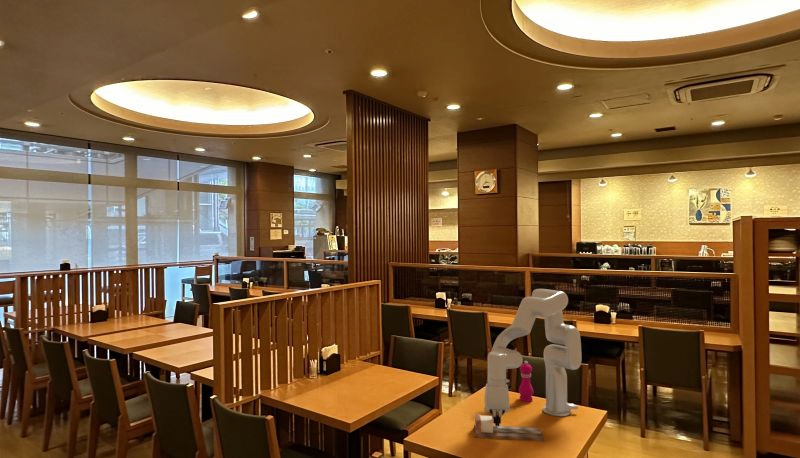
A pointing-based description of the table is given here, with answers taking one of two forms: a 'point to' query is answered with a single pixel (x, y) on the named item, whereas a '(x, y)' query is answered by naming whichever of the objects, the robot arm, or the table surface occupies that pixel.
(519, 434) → the rail board
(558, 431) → the table surface
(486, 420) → the block
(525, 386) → the pepper mill
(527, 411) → the table surface
